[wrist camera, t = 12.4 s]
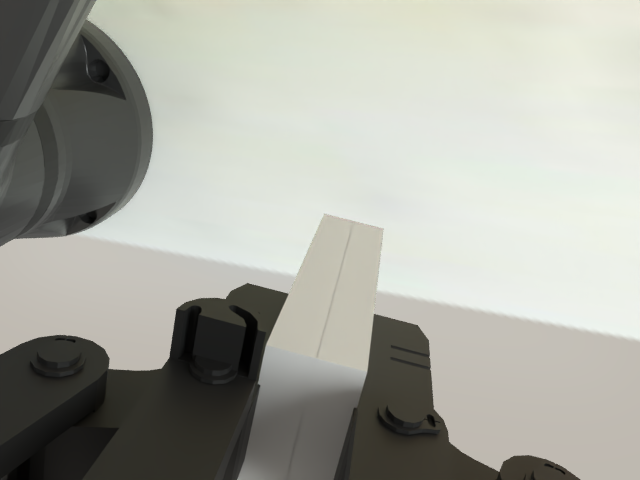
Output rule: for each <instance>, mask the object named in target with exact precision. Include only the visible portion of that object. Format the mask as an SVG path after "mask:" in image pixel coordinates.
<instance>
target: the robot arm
mask: <svg viewBox="0 0 640 480" xmlns="http://www.w3.org/2000/svg"><path fill="white" fill-rule="evenodd" d="M95 1H96V0H0V246H2V245H4V244H5V243H7V242H9V241H11V240H13V239H20V238H46V237H61V236H67V235H72V234H76V233H79V232H82V231H85V230H87V229H90V228H92V227H94V226H96V225H97V224H99V223H101V222H102V221H104V220H106V219H107V218H109V217H110V216H112V215H113V214H115V213H116V212H118V211H119V210H120V209H121V208H123V207H124V206H125V205H126V204H127V203H128V202H129V201H130V199H131V198H132V197H133V196H134V194H135V193H136V192H137V190H138V188H139V187H140V185H141V183H142V181H143V179H144V177H145V174H146V172H147V169H148V166H149V162H150V158H151V152H152V142H153V129H152V119H151V113H150V108H149V104H148V100H147V97H146V94H145V91H144V88H143V86H142V84H141V81H140V79H139V77H138V75H137V73H136V71H135V70H134V68H133V66H132V65H131V63H130V62H129V60H128V59H127V57H126V56H125V55H124V53H123V52H122V51H121V49H120V48H119V47H118V46H117V45H116V44H115V43H114V42H113V41H112V40H111V39H110V38H109V37H108V36H107V35H106V34H105V33H104V32H103V31H101V30H100V29H99V28H98V27H96V26H95V25H94V24H92V23H91V22H89V21H88V20H86V18H87V16H88V15H89V13H90V11H91V9H92V7H93V5H94V3H95ZM382 238H383V228H379V227H375V226H371V225H367V224H363V223H359V222H355V221H351V220H347V219H343V218H339V217H335V216H331V215H327V214H324V216H323V218H322V220H321V222H320V225H319V227H318V229H317V231H316V234H315V236H314V238H313V240H312V243H311V245H310V247H309V249H308V252H307V254H306V256H305V258H304V261H303V263H302V265H301V267H300V270H299V272H298V274H297V276H296V279H295V281H294V283H293V285H292V288H291V290H290V292H289V294H287V293H283V292H280V291H275V290H272V289H267V288H264V287H260V286H256V285H252V284H249V283H247V284H245V285H243V286H241V287H239V288H236V289H234V290H232V291H231V292H230V293H229V295H228V296H227V298H226V299H220V298H201V299H196V300H192V301H189V302H186V303H184V304H183V305H181V306H180V307H178V308H177V310H176V317H175V323H174V331H173V337H172V344H171V351H170V357H169V359H168V361H167V362H166V363H165V365H164V366H163V368H162V369H157V370H150V371H130V370H113V369H108V367H109V357H108V355H107V353H106V351H105V350H104V349H103V348H102V347H100V346H99V345H97V344H96V343H94V342H93V341H90V340H86V339H83V338H80V337H76V336H66V335H55V336H47V337H40V338H36V339H33V340H30V341H28V342H25V343H22V344H20V345H18V346H16V347H14V348H12V349H10V350H9V351H6V352H5V353H3V354H1V355H0V480H237V479H238V480H580V479H579V478H577V477H576V476H575V475H573V474H572V473H571V472H569V471H567V470H566V469H565V468H563V467H562V466H560V465H558V464H555V463H553V462H551V461H548V460H546V459H542V458H537V457H534V456H529V455H527V456H513V457H511V458H510V459H508V460H506V461H504V462H503V464H502V467H501V469H500V472H498V471H496V470H494V469H492V468H490V467H488V466H486V465H484V464H482V463H480V462H478V461H476V460H474V459H472V458H471V457H469V456H467V455H466V454H464V453H462V452H461V451H459V450H458V449H457V448H456V447H455V446H453V445H452V444H451V443H450V442H449V437H448V431H447V428H446V425H445V423H444V420H443V419H442V418H441V417H440V416H439V415H438V413H437V412H436V411H435V410H434V406H433V394H432V380H431V370H430V367H431V366H430V358H429V356H430V352H429V340H428V339H427V338H426V336H425V335H424V333H423V332H422V331H421V329H420V328H419V327H418V325H414V324H411V323H407V322H403V321H399V320H395V319H391V318H388V317H383V316H380V315H376V314H374V308H375V299H376V291H377V282H378V273H379V264H380V255H381V246H382Z"/></svg>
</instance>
